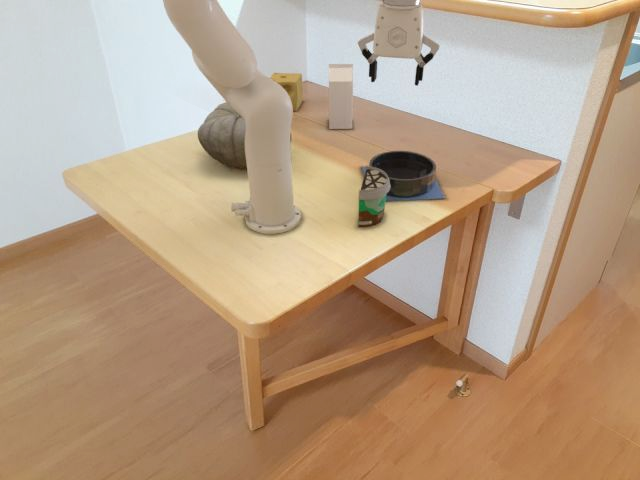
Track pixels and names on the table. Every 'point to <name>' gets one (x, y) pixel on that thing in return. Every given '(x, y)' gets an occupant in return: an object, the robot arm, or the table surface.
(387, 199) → the napkin
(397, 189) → the pan
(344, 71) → the milk carton
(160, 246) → the table surface
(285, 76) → the cheese
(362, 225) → the food container
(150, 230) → the table surface
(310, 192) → the table surface
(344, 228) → the table surface
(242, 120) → the gourd
